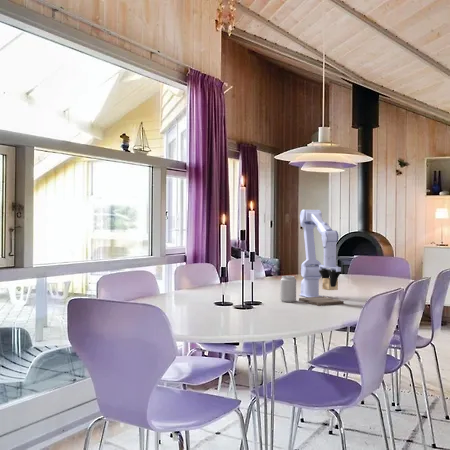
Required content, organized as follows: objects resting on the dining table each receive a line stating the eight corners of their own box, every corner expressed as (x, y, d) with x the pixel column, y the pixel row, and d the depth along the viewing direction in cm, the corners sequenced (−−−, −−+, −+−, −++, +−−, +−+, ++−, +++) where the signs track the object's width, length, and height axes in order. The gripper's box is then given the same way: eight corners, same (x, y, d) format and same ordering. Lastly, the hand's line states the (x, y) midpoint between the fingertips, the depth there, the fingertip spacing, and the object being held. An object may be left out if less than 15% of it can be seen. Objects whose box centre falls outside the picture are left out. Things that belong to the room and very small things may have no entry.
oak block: (322, 288, 232) (322, 278, 232) (331, 288, 234) (331, 277, 234) (328, 290, 227) (328, 279, 227) (337, 289, 229) (337, 279, 229)
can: (283, 302, 231) (284, 277, 231) (277, 300, 238) (278, 275, 238) (298, 302, 233) (298, 276, 233) (292, 299, 240) (292, 275, 240)
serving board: (298, 300, 238) (299, 298, 238) (323, 298, 244) (323, 296, 244) (318, 305, 223) (318, 303, 223) (343, 303, 229) (343, 301, 229)
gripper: (346, 257, 226) (346, 287, 226) (327, 255, 239) (327, 283, 239) (333, 257, 223) (333, 288, 223) (315, 255, 236) (315, 284, 236)
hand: (329, 285), depth 231 cm, fingers closed on oak block, 5 cm apart
